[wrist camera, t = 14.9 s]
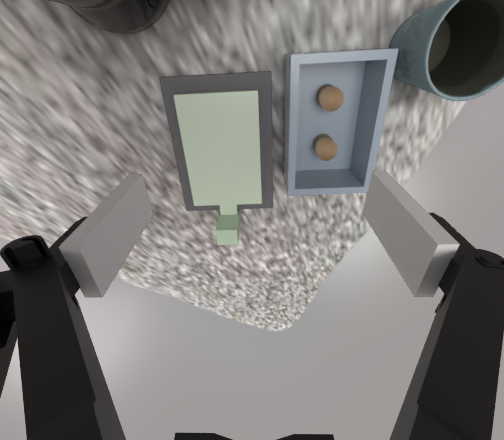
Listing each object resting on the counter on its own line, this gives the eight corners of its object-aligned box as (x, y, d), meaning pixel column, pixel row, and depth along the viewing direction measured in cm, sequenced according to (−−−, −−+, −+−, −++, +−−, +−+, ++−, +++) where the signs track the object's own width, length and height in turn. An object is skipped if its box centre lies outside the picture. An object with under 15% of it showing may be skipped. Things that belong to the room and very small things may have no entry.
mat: (187, 208, 51) (186, 210, 50) (161, 77, 40) (159, 77, 39) (272, 205, 50) (272, 207, 50) (271, 70, 39) (271, 71, 38)
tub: (283, 174, 47) (287, 195, 40) (285, 53, 38) (291, 54, 31) (353, 172, 47) (369, 192, 40) (373, 48, 37) (398, 48, 30)
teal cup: (408, 103, 41) (457, 120, 31) (365, 52, 37) (405, 53, 27) (474, 40, 36) (557, 37, 26) (432, -23, 33) (509, -55, 23)
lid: (200, 224, 52) (193, 245, 46) (176, 93, 40) (162, 100, 34) (262, 222, 51) (263, 243, 46) (257, 89, 39) (257, 95, 34)
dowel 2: (312, 152, 44) (316, 161, 41) (313, 134, 43) (318, 141, 39) (330, 151, 44) (336, 160, 41) (332, 133, 42) (339, 140, 39)
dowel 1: (315, 106, 40) (320, 112, 37) (316, 84, 39) (322, 88, 36) (335, 105, 40) (342, 111, 37) (337, 83, 39) (345, 86, 35)
